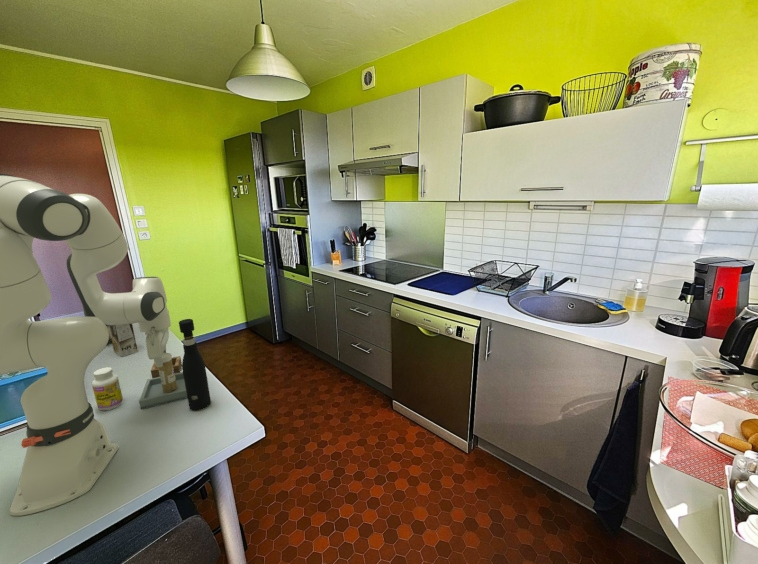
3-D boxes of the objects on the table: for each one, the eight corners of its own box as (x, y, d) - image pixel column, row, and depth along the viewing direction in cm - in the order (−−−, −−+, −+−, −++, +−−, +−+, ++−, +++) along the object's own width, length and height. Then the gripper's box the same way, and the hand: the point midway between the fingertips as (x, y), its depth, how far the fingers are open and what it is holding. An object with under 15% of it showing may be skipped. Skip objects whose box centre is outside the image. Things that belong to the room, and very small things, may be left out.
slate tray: (192, 396, 112) (191, 389, 112) (140, 409, 106) (139, 401, 105) (195, 376, 125) (194, 369, 125) (148, 386, 119) (147, 379, 118)
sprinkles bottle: (177, 390, 115) (171, 355, 112) (162, 394, 112) (155, 359, 109) (177, 384, 119) (170, 351, 115) (162, 388, 116) (155, 354, 113)
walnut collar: (179, 374, 127) (178, 365, 126) (152, 380, 123) (150, 371, 122) (181, 364, 135) (180, 356, 134) (156, 369, 131) (154, 360, 130)
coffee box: (138, 351, 147) (131, 318, 143) (122, 357, 142) (114, 322, 138) (130, 346, 152) (122, 314, 148) (113, 352, 147) (105, 319, 143)
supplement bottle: (95, 413, 104) (85, 378, 101) (101, 402, 110) (93, 368, 107) (120, 407, 107) (112, 373, 104) (125, 397, 113) (118, 364, 109)
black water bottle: (207, 397, 112) (194, 315, 105) (213, 404, 108) (200, 320, 100) (186, 405, 108) (171, 321, 100) (192, 413, 103) (176, 326, 96)
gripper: (162, 330, 101) (169, 371, 104) (169, 314, 119) (175, 349, 122) (137, 334, 98) (145, 376, 101) (148, 317, 116) (155, 352, 119)
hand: (161, 361), depth 112 cm, fingers open, 8 cm apart
